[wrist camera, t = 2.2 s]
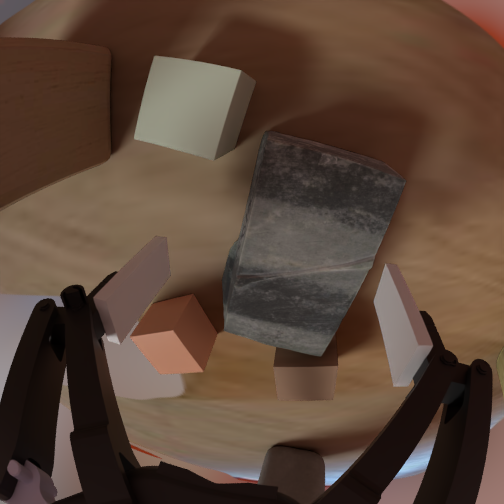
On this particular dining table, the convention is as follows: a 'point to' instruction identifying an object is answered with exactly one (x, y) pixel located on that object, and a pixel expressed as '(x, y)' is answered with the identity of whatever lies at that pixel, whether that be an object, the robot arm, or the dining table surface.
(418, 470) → the dining table surface
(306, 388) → the walnut cube
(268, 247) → the stone block
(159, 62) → the sage cube
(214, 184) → the dining table surface
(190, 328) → the terracotta cube
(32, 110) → the wooden block
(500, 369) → the potted cactus
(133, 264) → the robot arm
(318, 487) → the vase
